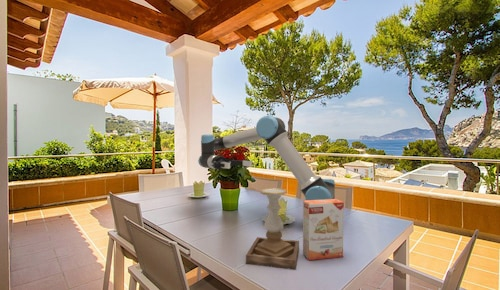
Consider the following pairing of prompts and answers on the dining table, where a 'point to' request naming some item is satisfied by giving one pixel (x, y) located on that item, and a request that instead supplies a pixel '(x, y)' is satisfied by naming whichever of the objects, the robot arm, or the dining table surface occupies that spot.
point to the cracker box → (323, 228)
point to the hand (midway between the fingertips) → (240, 164)
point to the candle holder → (273, 228)
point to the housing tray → (273, 261)
